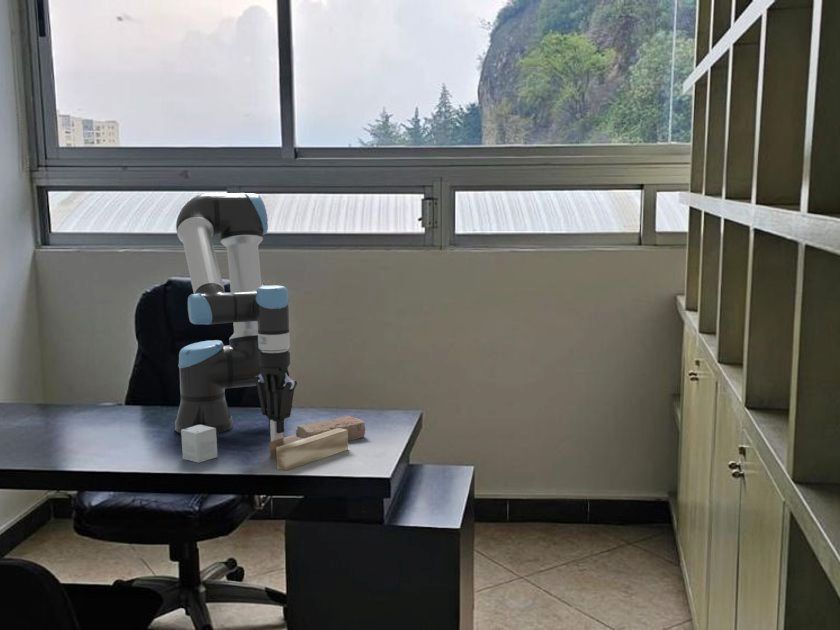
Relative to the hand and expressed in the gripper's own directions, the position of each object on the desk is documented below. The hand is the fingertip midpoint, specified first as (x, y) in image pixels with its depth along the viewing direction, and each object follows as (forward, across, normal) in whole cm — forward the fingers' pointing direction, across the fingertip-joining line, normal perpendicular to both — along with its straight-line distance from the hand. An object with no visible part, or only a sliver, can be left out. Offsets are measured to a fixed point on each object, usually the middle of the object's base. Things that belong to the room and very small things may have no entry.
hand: (277, 445), depth 217 cm
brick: (+3, +2, +17) cm, 17 cm away
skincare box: (+2, -12, -14) cm, 19 cm away
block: (+2, +4, 0) cm, 5 cm away
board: (+2, +10, +2) cm, 11 cm away
